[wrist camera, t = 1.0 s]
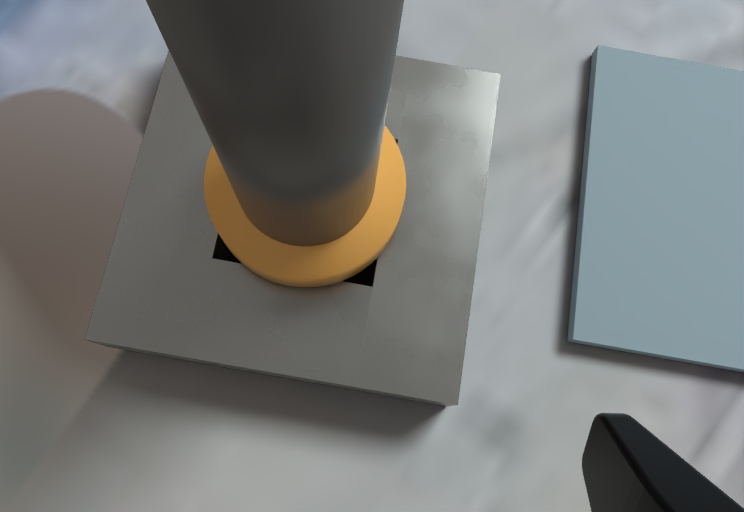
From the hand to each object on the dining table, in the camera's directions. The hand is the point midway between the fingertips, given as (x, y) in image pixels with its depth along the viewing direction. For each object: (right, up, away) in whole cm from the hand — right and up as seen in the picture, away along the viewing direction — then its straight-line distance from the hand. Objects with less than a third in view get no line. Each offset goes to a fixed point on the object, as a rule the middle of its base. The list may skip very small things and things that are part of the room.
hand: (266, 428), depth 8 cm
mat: (+15, +4, +16) cm, 22 cm away
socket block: (-1, +4, +15) cm, 15 cm away
